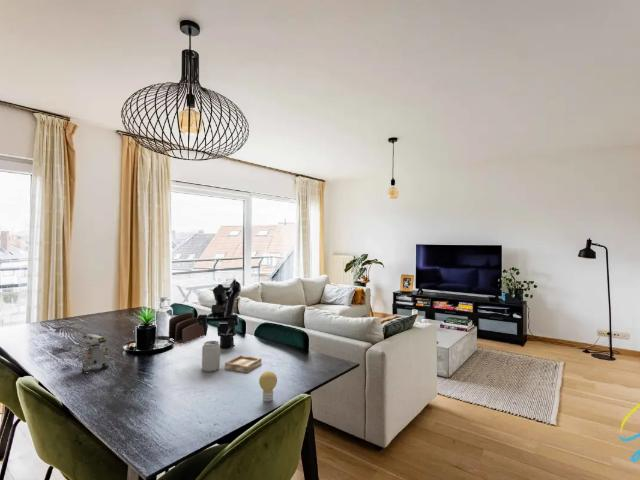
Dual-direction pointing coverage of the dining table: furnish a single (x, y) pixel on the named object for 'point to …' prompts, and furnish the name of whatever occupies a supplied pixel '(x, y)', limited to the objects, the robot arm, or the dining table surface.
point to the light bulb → (268, 385)
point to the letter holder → (184, 328)
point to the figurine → (94, 352)
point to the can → (210, 356)
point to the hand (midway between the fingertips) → (215, 335)
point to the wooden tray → (243, 363)
